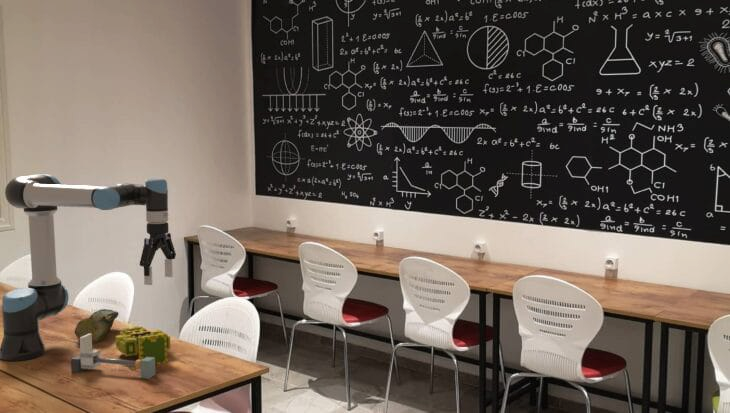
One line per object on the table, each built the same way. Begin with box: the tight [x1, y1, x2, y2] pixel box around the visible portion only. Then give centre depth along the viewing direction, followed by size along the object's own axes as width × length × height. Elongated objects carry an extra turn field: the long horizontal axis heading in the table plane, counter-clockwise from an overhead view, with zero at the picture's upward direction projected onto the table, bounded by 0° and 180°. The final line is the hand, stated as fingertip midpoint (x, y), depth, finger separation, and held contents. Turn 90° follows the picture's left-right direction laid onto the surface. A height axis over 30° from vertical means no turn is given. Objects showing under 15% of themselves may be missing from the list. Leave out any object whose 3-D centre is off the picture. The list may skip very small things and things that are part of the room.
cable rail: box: [70, 354, 156, 380], centre depth 251 cm, size 29×6×6 cm, turn 75°
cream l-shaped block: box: [79, 333, 101, 370], centre depth 253 cm, size 4×5×11 cm
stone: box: [74, 308, 119, 344], centre depth 294 cm, size 15×12×25 cm
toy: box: [115, 325, 171, 365], centre depth 272 cm, size 17×10×30 cm
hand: (158, 280), depth 267 cm, fingers open, 13 cm apart
